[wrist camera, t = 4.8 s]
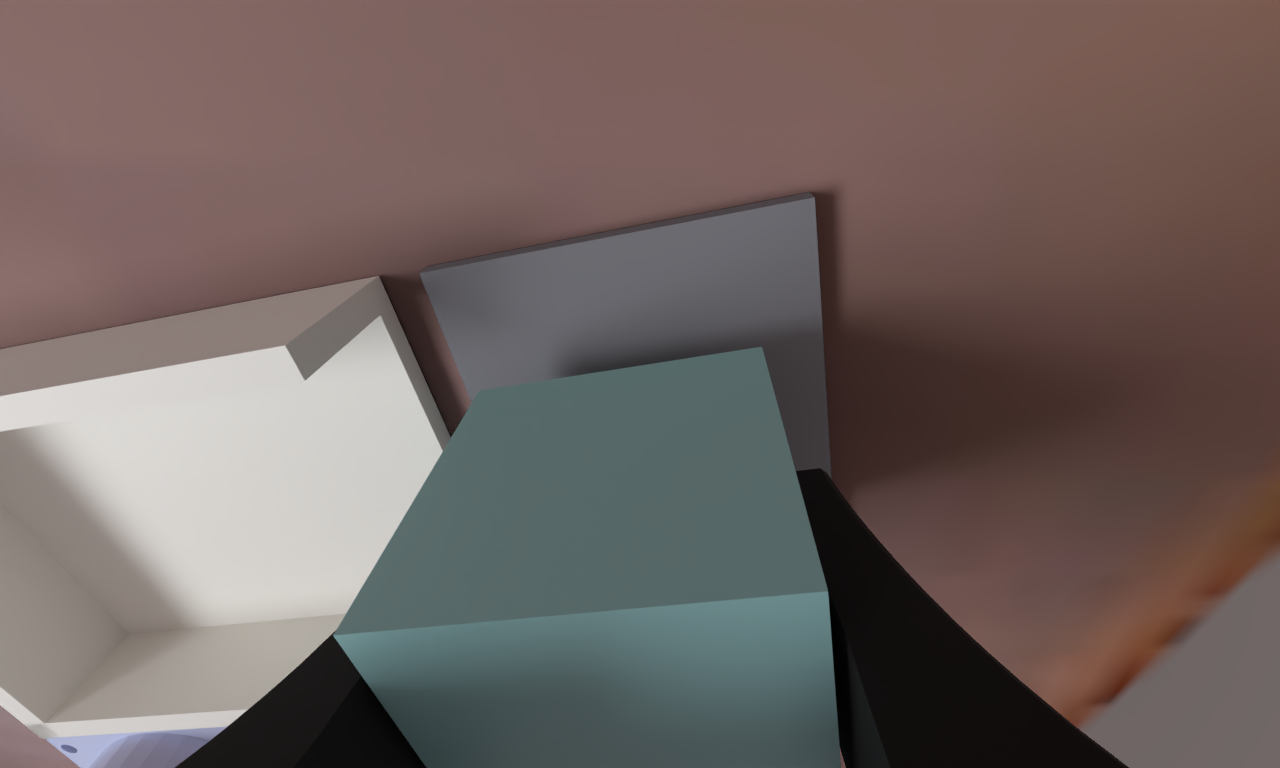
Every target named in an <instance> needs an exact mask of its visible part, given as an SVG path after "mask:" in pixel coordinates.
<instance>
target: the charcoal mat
mask: <svg viewBox="0 0 1280 768" xmlns="http://www.w3.org/2000/svg"><path fill="white" fill-rule="evenodd" d="M419 275H420V277H421V280H422V282H423V285H424V287H425V290H426V292H427V294H428V297H429V299H430V302H431V304H432V307H433V309H434V312H435V314H436V316H437V319H438V321H439V324H440V326H441V329H442V331H443V334H444V336H445V338H446V341H447V343H448V346H449V348H450V351H451V353H452V356H453V358H454V361H455V363H456V365H457V368H458V370H459V373H460V375H461V378H462V380H463V383H464V385H465V387H466V390H467V392H468V395H469V397H470V400H471V402H473V400H474V398H475V397H476V395H477V393H478V392H479V391H481V390H487V389H493V388H500V387H506V386H513V385H519V384H525V383H532V382H538V381H545V380H551V379H557V378H564V377H570V376H577V375H583V374H589V373H596V372H602V371H609V370H615V369H622V368H628V367H634V366H641V365H647V364H654V363H660V362H666V361H673V360H679V359H686V358H692V357H698V356H705V355H711V354H718V353H724V352H730V351H737V350H743V349H750V348H756V347H762V349H763V352H764V356H765V360H766V363H767V367H768V371H769V374H770V378H771V382H772V386H773V389H774V393H775V397H776V400H777V404H778V408H779V411H780V415H781V419H782V423H783V426H784V430H785V434H786V437H787V441H788V445H789V448H790V452H791V456H792V460H793V463H794V467H795V471H800V470H808V469H817V468H821V469H822V470H824V471H825V472H826V473H828V475H829V476H830V478H831V480H832V476H831V459H830V442H829V426H828V409H827V392H826V375H825V359H824V342H823V325H822V308H821V292H820V275H819V258H818V241H817V225H816V208H815V197H814V196H813V195H812V194H811V193H810V192H808V193H803V194H798V195H793V196H788V197H783V198H777V199H772V200H767V201H762V202H757V203H752V204H746V205H741V206H736V207H731V208H726V209H721V210H715V211H710V212H705V213H700V214H695V215H690V216H685V217H679V218H674V219H669V220H664V221H659V222H654V223H648V224H643V225H638V226H633V227H628V228H623V229H618V230H612V231H607V232H602V233H597V234H592V235H587V236H581V237H576V238H571V239H566V240H561V241H556V242H551V243H545V244H540V245H535V246H530V247H525V248H520V249H514V250H509V251H504V252H499V253H494V254H489V255H483V256H478V257H473V258H468V259H463V260H458V261H453V262H447V263H442V264H437V265H432V266H427V267H426V268H425V269H424V270H423V271H421V272H420V273H419Z"/></svg>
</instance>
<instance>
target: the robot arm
mask: <svg viewBox="0 0 1280 768" xmlns="http://www.w3.org/2000/svg"><path fill="white" fill-rule="evenodd" d="M796 474H797V478H798V482H799V485H800V489H801V493H802V496H803V500H804V504H805V508H806V511H807V515H808V519H809V522H810V526H811V530H812V533H813V537H814V541H815V545H816V548H817V552H818V556H819V559H820V563H821V567H822V570H823V574H824V578H825V581H826V585H827V589H828V596H829V610H830V623H831V637H832V651H833V664H834V678H835V692H836V705H837V719H838V733H839V746H840V749H841V752H842V756H843V759H844V762H845V766H846V768H1129V767H1127V766H1126V765H1125V764H1123V763H1122V762H1121V761H1119V760H1118V759H1117V758H1115V757H1114V756H1113V755H1112V754H1110V753H1109V752H1108V751H1106V750H1105V749H1104V748H1102V747H1101V746H1100V745H1099V744H1097V743H1096V742H1095V741H1093V740H1092V739H1091V738H1089V737H1088V736H1087V735H1086V734H1084V733H1083V732H1082V731H1080V730H1079V729H1078V728H1076V727H1075V726H1074V725H1073V724H1071V723H1070V722H1069V721H1068V720H1067V719H1065V718H1064V717H1063V716H1062V715H1061V714H1059V713H1058V712H1057V711H1056V710H1055V709H1053V708H1052V707H1051V706H1050V705H1049V704H1047V703H1046V702H1045V701H1044V700H1043V699H1041V698H1040V697H1039V696H1038V695H1037V694H1035V693H1034V692H1033V691H1032V690H1031V689H1029V688H1028V687H1027V686H1026V685H1025V684H1023V683H1022V682H1021V681H1020V680H1019V679H1018V678H1017V677H1015V676H1014V675H1013V674H1012V673H1011V672H1010V671H1009V670H1008V669H1006V668H1005V667H1004V666H1003V665H1002V664H1001V663H1000V662H998V661H997V660H996V659H995V658H994V657H993V656H992V655H991V654H989V653H988V652H987V651H986V650H985V649H984V648H983V647H982V646H981V645H980V644H979V643H977V642H976V641H975V640H974V639H973V638H972V637H971V636H970V635H969V634H968V633H967V632H966V631H965V630H964V629H963V628H962V627H960V626H959V625H958V624H957V623H956V622H955V621H954V620H953V619H952V618H951V617H950V616H949V615H948V614H947V613H946V612H945V611H944V610H943V609H942V608H941V607H940V606H939V605H938V604H937V603H936V602H935V601H934V600H933V599H932V598H931V597H930V596H929V595H928V594H927V593H926V592H925V591H924V590H923V589H922V588H921V587H920V586H919V585H918V583H917V582H916V581H915V580H914V579H913V578H912V577H911V576H910V575H909V574H908V573H907V572H906V571H905V570H904V568H903V567H902V566H901V565H900V564H899V563H898V562H897V561H896V560H895V558H894V557H893V556H892V555H891V554H890V553H889V552H888V551H887V549H886V548H885V547H884V546H883V545H882V544H881V543H880V542H879V541H878V539H877V538H876V537H875V536H874V535H873V533H872V532H871V531H870V530H869V529H868V527H867V526H866V525H865V524H864V523H863V521H862V520H861V519H860V518H859V516H858V515H857V514H856V513H855V511H854V510H853V509H852V507H851V506H850V505H849V503H848V502H847V501H846V500H845V498H844V497H843V495H842V494H841V493H840V491H839V490H838V488H837V487H836V486H835V484H834V483H833V481H832V480H831V478H830V476H829V475H828V473H826V472H825V471H824V470H822V469H821V468H817V469H808V470H800V471H796ZM334 633H335V631H334V632H333V633H332V634H331V635H330V636H329V637H328V638H327V639H326V640H325V641H324V642H323V643H322V644H321V645H320V646H319V647H318V648H317V649H316V650H314V651H313V652H312V653H311V654H310V655H309V656H308V657H307V658H306V659H305V660H304V661H303V662H302V663H301V664H300V665H299V666H298V667H296V668H295V669H294V670H293V671H292V672H291V673H290V674H289V675H288V676H286V677H285V678H284V679H283V680H282V681H281V682H280V683H278V684H277V685H276V686H275V687H274V688H273V689H272V690H270V691H269V692H268V693H267V694H266V695H265V696H264V697H262V698H261V699H260V700H259V701H258V702H256V703H255V704H254V705H253V706H252V707H250V708H249V709H248V710H247V711H246V712H244V713H243V714H242V715H241V716H240V717H238V718H237V719H236V720H235V721H234V722H232V723H231V724H230V725H229V726H228V727H213V728H197V729H181V730H166V731H150V732H135V733H119V734H103V735H88V736H72V737H56V738H46V739H47V741H48V742H50V743H51V744H52V745H53V746H55V747H56V748H57V749H58V750H60V751H61V752H62V753H63V754H64V755H66V756H67V757H68V758H69V759H71V760H72V761H73V762H74V763H76V764H77V765H78V766H79V767H81V768H426V766H425V765H424V763H423V762H422V761H421V759H420V758H419V756H418V755H417V753H416V752H415V751H414V749H413V748H412V746H411V745H410V744H409V742H408V741H407V739H406V738H405V736H404V735H403V734H402V732H401V731H400V729H399V728H398V727H397V725H396V724H395V722H394V721H393V720H392V718H391V717H390V715H389V714H388V712H387V711H386V710H385V708H384V707H383V705H382V704H381V703H380V701H379V700H378V698H377V697H376V695H375V694H374V693H373V691H372V690H371V688H370V687H369V686H368V684H367V683H366V681H365V680H364V679H363V677H362V676H361V674H360V673H359V671H358V670H357V669H356V667H355V666H354V664H353V663H352V662H351V660H350V659H349V657H348V656H347V654H346V653H345V652H344V650H343V649H342V647H341V646H340V645H339V643H338V642H337V640H336V639H335V638H334V636H333V635H334Z"/></svg>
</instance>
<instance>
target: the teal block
mask: <svg viewBox="0 0 1280 768" xmlns="http://www.w3.org/2000/svg"><path fill="white" fill-rule="evenodd" d="M333 636H334V638H335V639H336V640H337V642H338V643H339V645H340V646H341V647H342V649H343V650H344V652H345V653H346V654H347V656H348V657H349V659H350V660H351V662H352V663H353V664H354V666H355V667H356V669H357V670H358V671H359V673H360V674H361V676H362V677H363V679H364V680H365V681H366V683H367V684H368V686H369V687H370V688H371V690H372V691H373V693H374V694H375V695H376V697H377V698H378V700H379V701H380V703H381V704H382V705H383V707H384V708H385V710H386V711H387V712H388V714H389V715H390V717H391V718H392V720H393V721H394V722H395V724H396V725H397V727H398V728H399V729H400V731H401V732H402V734H403V735H404V736H405V738H406V739H407V741H408V742H409V744H410V745H411V746H412V748H413V749H414V751H415V752H416V753H417V755H418V756H419V758H420V759H421V761H422V762H423V763H424V765H425V766H426V768H841V760H840V746H839V733H838V719H837V705H836V692H835V678H834V664H833V651H832V637H831V623H830V610H829V596H828V589H827V585H826V581H825V578H824V574H823V570H822V567H821V563H820V559H819V556H818V552H817V548H816V545H815V541H814V537H813V533H812V530H811V526H810V522H809V519H808V515H807V511H806V508H805V504H804V500H803V496H802V493H801V489H800V485H799V482H798V478H797V474H796V471H795V467H794V463H793V460H792V456H791V452H790V448H789V445H788V441H787V437H786V434H785V430H784V426H783V423H782V419H781V415H780V411H779V408H778V404H777V400H776V397H775V393H774V389H773V386H772V382H771V378H770V374H769V371H768V367H767V363H766V360H765V356H764V352H763V349H762V347H756V348H750V349H743V350H737V351H730V352H724V353H718V354H711V355H705V356H698V357H692V358H686V359H679V360H673V361H666V362H660V363H654V364H647V365H641V366H634V367H628V368H622V369H615V370H609V371H602V372H596V373H589V374H583V375H577V376H570V377H564V378H557V379H551V380H545V381H538V382H532V383H525V384H519V385H513V386H506V387H500V388H493V389H487V390H481V391H479V392H478V393H477V395H476V397H475V398H474V400H473V402H472V403H471V405H470V407H469V408H468V410H467V412H466V414H465V415H464V417H463V419H462V420H461V422H460V424H459V425H458V427H457V429H456V430H455V432H454V434H453V435H452V437H451V439H450V440H449V442H448V444H447V445H446V447H445V449H444V450H443V452H442V454H441V455H440V457H439V459H438V460H437V462H436V464H435V465H434V467H433V469H432V470H431V472H430V474H429V476H428V477H427V479H426V481H425V482H424V484H423V486H422V487H421V489H420V491H419V492H418V494H417V496H416V497H415V499H414V501H413V502H412V504H411V506H410V507H409V509H408V511H407V512H406V514H405V516H404V517H403V519H402V521H401V522H400V524H399V526H398V527H397V529H396V531H395V533H394V534H393V536H392V538H391V539H390V541H389V543H388V544H387V546H386V548H385V549H384V551H383V553H382V554H381V556H380V558H379V559H378V561H377V563H376V564H375V566H374V568H373V569H372V571H371V573H370V574H369V576H368V578H367V579H366V581H365V583H364V584H363V586H362V588H361V589H360V591H359V593H358V595H357V596H356V598H355V600H354V601H353V603H352V605H351V606H350V608H349V610H348V611H347V613H346V615H345V616H344V618H343V620H342V621H341V623H340V625H339V626H338V628H337V630H336V631H335V633H334V635H333Z"/></svg>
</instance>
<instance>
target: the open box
mask: <svg viewBox="0 0 1280 768" xmlns="http://www.w3.org/2000/svg"><path fill="white" fill-rule="evenodd" d="M450 439H451V437H450V435H449V433H448V430H447V428H446V426H445V424H444V421H443V419H442V417H441V415H440V412H439V410H438V408H437V406H436V403H435V401H434V399H433V397H432V394H431V392H430V390H429V388H428V385H427V383H426V381H425V379H424V376H423V374H422V372H421V370H420V367H419V365H418V363H417V361H416V358H415V356H414V354H413V352H412V349H411V347H410V345H409V343H408V340H407V338H406V336H405V334H404V331H403V329H402V327H401V325H400V322H399V320H398V318H397V316H396V313H395V311H394V309H393V307H392V304H391V302H390V300H389V298H388V295H387V293H386V291H385V289H384V286H383V284H382V282H381V280H380V277H379V276H375V277H370V278H365V279H360V280H355V281H349V282H344V283H339V284H334V285H329V286H324V287H319V288H313V289H308V290H303V291H298V292H293V293H288V294H282V295H277V296H272V297H267V298H262V299H257V300H251V301H246V302H241V303H236V304H231V305H226V306H221V307H215V308H210V309H205V310H200V311H195V312H190V313H184V314H179V315H174V316H169V317H164V318H159V319H154V320H148V321H143V322H138V323H133V324H128V325H123V326H117V327H112V328H107V329H102V330H97V331H92V332H86V333H81V334H76V335H71V336H66V337H61V338H56V339H50V340H45V341H40V342H35V343H30V344H25V345H19V346H14V347H9V348H4V349H0V705H1V706H2V707H3V708H4V709H6V710H7V711H8V712H9V713H11V714H12V715H13V716H14V717H16V718H17V719H18V720H19V721H21V722H22V723H23V724H24V725H25V726H27V727H28V728H29V729H30V730H32V731H33V732H34V733H35V734H37V735H38V736H39V737H40V738H56V737H72V736H88V735H103V734H119V733H135V732H150V731H166V730H181V729H197V728H213V727H228V726H229V725H230V724H231V723H232V722H234V721H235V720H236V719H237V718H238V717H240V716H241V715H242V714H243V713H244V712H246V711H247V710H248V709H249V708H250V707H252V706H253V705H254V704H255V703H256V702H258V701H259V700H260V699H261V698H262V697H264V696H265V695H266V694H267V693H268V692H269V691H270V690H272V689H273V688H274V687H275V686H276V685H277V684H278V683H280V682H281V681H282V680H283V679H284V678H285V677H286V676H288V675H289V674H290V673H291V672H292V671H293V670H294V669H295V668H296V667H298V666H299V665H300V664H301V663H302V662H303V661H304V660H305V659H306V658H307V657H308V656H309V655H310V654H311V653H312V652H313V651H314V650H316V649H317V648H318V647H319V646H320V645H321V644H322V643H323V642H324V641H325V640H326V639H327V638H328V637H329V636H330V635H331V634H332V633H333V632H334V631H336V630H337V628H338V626H339V625H340V623H341V621H342V620H343V618H344V616H345V615H346V613H347V611H348V610H349V608H350V606H351V605H352V603H353V601H354V600H355V598H356V596H357V595H358V593H359V591H360V589H361V588H362V586H363V584H364V583H365V581H366V579H367V578H368V576H369V574H370V573H371V571H372V569H373V568H374V566H375V564H376V563H377V561H378V559H379V558H380V556H381V554H382V553H383V551H384V549H385V548H386V546H387V544H388V543H389V541H390V539H391V538H392V536H393V534H394V533H395V531H396V529H397V527H398V526H399V524H400V522H401V521H402V519H403V517H404V516H405V514H406V512H407V511H408V509H409V507H410V506H411V504H412V502H413V501H414V499H415V497H416V496H417V494H418V492H419V491H420V489H421V487H422V486H423V484H424V482H425V481H426V479H427V477H428V476H429V474H430V472H431V470H432V469H433V467H434V465H435V464H436V462H437V460H438V459H439V457H440V455H441V454H442V452H443V450H444V449H445V447H446V445H447V444H448V442H449V440H450Z"/></svg>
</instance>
